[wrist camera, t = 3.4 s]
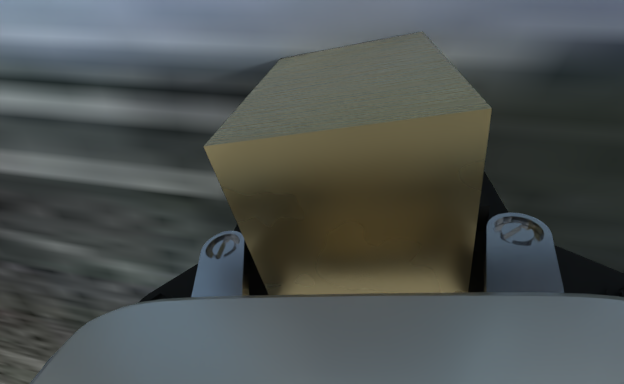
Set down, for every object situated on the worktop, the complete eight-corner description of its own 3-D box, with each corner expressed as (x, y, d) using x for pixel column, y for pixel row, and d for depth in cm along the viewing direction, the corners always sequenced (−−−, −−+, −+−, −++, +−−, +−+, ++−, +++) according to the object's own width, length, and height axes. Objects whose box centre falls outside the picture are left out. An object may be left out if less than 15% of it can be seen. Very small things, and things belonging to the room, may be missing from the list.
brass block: (422, 31, 10) (491, 108, 5) (422, 229, 15) (456, 381, 10) (280, 58, 12) (203, 146, 6) (323, 235, 17) (303, 374, 11)
